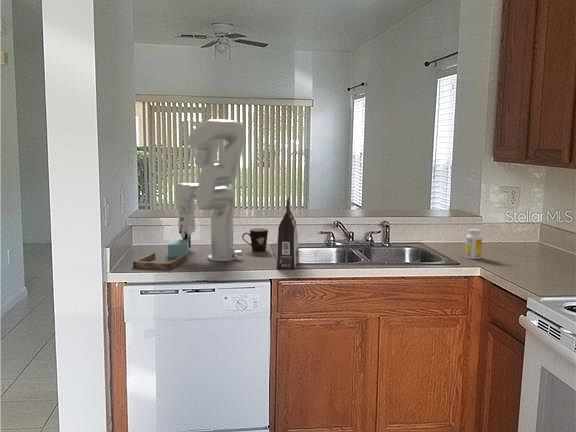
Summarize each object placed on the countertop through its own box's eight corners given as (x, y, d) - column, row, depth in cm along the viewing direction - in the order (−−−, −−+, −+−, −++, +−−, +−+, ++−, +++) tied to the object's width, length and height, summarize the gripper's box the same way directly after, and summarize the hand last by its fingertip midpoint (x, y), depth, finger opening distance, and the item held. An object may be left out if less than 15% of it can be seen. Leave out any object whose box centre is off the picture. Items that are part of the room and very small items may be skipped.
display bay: (187, 259, 227) (187, 254, 227) (170, 269, 209) (169, 263, 209) (152, 258, 230) (152, 252, 230) (133, 267, 212) (132, 261, 212)
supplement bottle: (481, 257, 237) (483, 229, 235) (480, 260, 231) (481, 231, 229) (466, 255, 240) (467, 227, 238) (464, 258, 234) (465, 230, 232)
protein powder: (297, 269, 211) (297, 200, 208) (275, 269, 212) (275, 200, 208) (298, 260, 228) (299, 196, 224) (278, 260, 228) (278, 196, 224)
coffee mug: (269, 249, 251) (269, 228, 250) (266, 252, 243) (266, 231, 241) (245, 248, 253) (245, 227, 251) (241, 251, 244) (241, 230, 243)
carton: (189, 251, 245) (188, 239, 244) (187, 257, 233) (187, 244, 232) (170, 252, 244) (170, 239, 243) (168, 258, 232) (167, 244, 231)
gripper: (187, 211, 237) (188, 251, 240) (199, 207, 251) (200, 245, 254) (172, 211, 238) (173, 250, 241) (184, 207, 253) (185, 244, 255)
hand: (186, 247), depth 247 cm, fingers closed
